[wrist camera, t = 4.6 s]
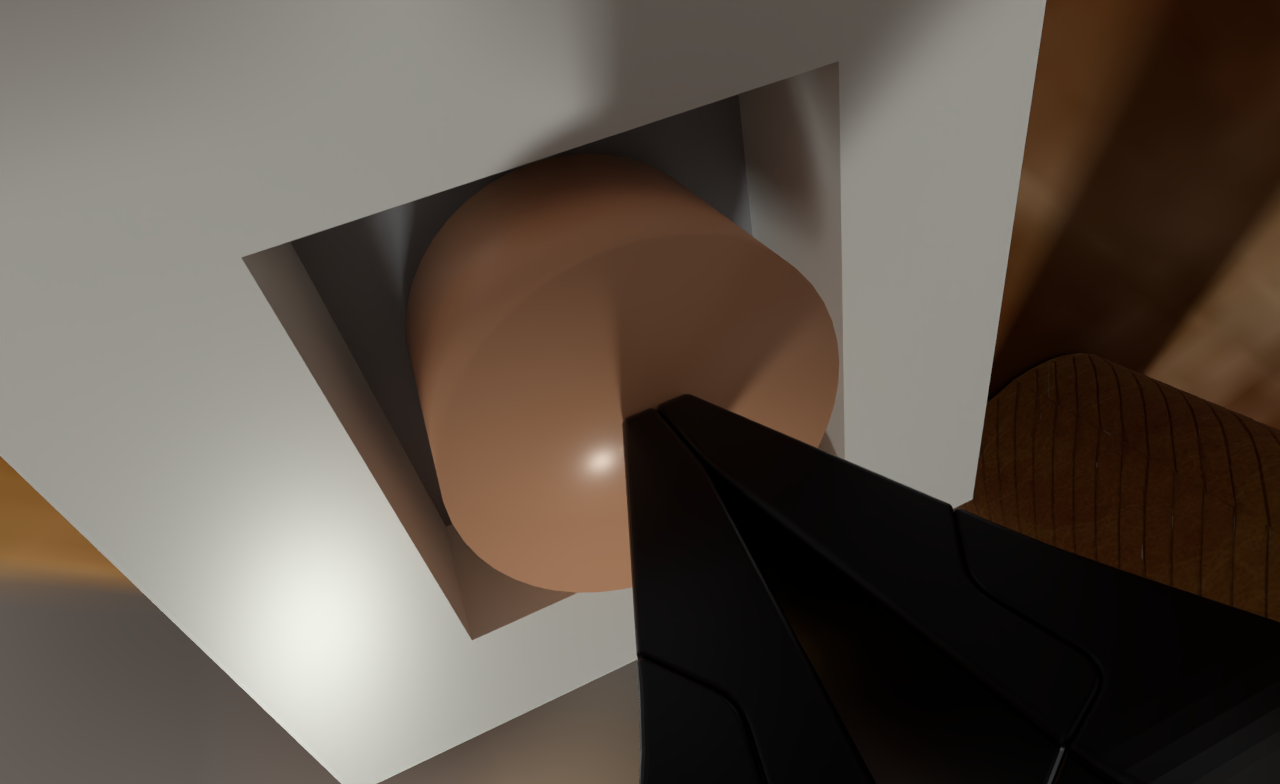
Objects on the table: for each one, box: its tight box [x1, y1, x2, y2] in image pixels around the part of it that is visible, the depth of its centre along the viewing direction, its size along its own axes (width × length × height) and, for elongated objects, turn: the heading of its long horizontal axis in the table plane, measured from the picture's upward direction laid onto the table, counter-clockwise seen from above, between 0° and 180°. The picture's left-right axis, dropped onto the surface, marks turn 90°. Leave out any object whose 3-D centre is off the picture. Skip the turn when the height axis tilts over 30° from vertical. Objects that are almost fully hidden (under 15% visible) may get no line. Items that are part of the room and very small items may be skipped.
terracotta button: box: [406, 154, 839, 593], centre depth 9 cm, size 5×5×3 cm
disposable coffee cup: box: [953, 353, 1280, 622], centre depth 16 cm, size 10×10×12 cm
